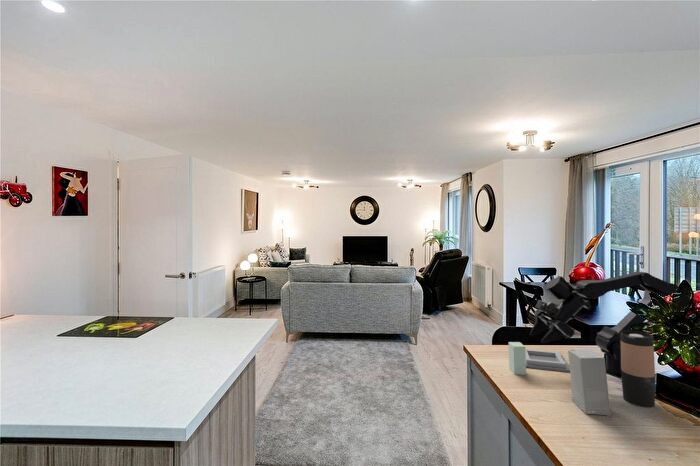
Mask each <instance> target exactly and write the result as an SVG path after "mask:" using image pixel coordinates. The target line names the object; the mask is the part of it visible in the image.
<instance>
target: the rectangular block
mask: <svg viewBox="0 0 700 466" xmlns="http://www.w3.org/2000/svg"><path fill="white" fill-rule="evenodd" d="M525 349H526V346H525V345H524V344H523V343H522V342H520V341H508V365H509V366H508V367H509V370H510V371H511V372H512V373H513V375H527V367H526V355H525Z"/></svg>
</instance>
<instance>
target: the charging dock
mask: <svg viewBox="0 0 700 466" xmlns="http://www.w3.org/2000/svg"><path fill="white" fill-rule="evenodd" d="M525 355H526V369H528V368H529V369H538V370H547V371H555V372H563V373H564V372H565V373H570V366H569V363H568V362H567V360H566V358H565V356H563V354H560V353H559V351H549V350H539V349H537V350H536V349H527V348H525Z"/></svg>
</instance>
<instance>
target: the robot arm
mask: <svg viewBox="0 0 700 466" xmlns="http://www.w3.org/2000/svg"><path fill="white" fill-rule="evenodd" d="M635 286H640V287H641V288H644V289H645V290H644V294H643V298H642V299H641V300H640V301H639V302H638V303H643V304H646V305H648V306H650V307H652V306H653V305H652V302H651V298H650V295H649V293H651V292H654V293H656V294H658V295H660V296H662V297H665V296H668V295H671V294H672V293H674V292H675V290H676V289H677V288H678V287H679V285H677V284H676V283H673V282H668V281H665V280H663V279H660V278H658V277H655V276H654V275H652V274H650V273H649V272H646V271H645V272H644V271H634V272H630V273H627V274H622V275H617V276H613V277H609V278H604V279H587V280H586V279H584V280H583V279H582V280H579V281H577V282H576V283H573V284H569V282H567V281H566V279H565V278H564V277H563V276H560V275H558V276H557V277H555V278H552V279H550V280H548V282H547V283H545V286H544V288H545V290H547V291H548V292H549V293H550V294H551V295H552V296H554V297H555V299H556V300H562V301H561V302H559V303H554V302H552V301H548V302H545V301H543V300H541V299H538V300H537V302H536V304H535V308H537V309H536V310H535V311H534V312H533V313H534V315H533V316H534V319H535V322H534V324H533V326H532V328H531V330H530V332H529V335H530V336H532V337H533V336H535V335H537V334H539V333H541V332H544V331H546V330H547V329H549V330H548V331H547V332H546V334H545V335H544V336H543V338H542V339H541V340H540V343H542V344H543V345H544V344H547V343H551V342H554V341H558V340H561V339H568V338H569V339H572V337H573V336H574V335H576V333H575V329H574V328H572V326H570V325H569V324H568V322H569V321H570V320H575V319H576V317H575V315H576V314H578V312H579V311H580V310H581V309H582V308H585V309H587V310H591V309H592V308H591V301H590V300H595V299H598V298H600V297H602V296H605V295H606V294H607V293H609V292H612V291H616V290H617V291H618V290H621V289H626V288H630V287H635ZM584 298H586V300H585V299H584ZM587 299H589V300H587ZM646 321H647V320H646V319H644V318H642V317H640V316H638V315H636V314H634V313H633V312H632V311H631V310H630V311H628V313H627V314H626V315H625V316H624V317H623V318H622V319H621V320H620V321H619V322H618V323H617V324H616V325H615V326H613V327H609V326H606V325H605V326H603V328H602V329H601V330H600V331H598V332H596V337H595V343H596V346H597V347H598V348H599V349H600V351H601V353H603V356H602V357H603V358H605V367H606V374H608V375H611V376H614V377H617V378H621V379H622V374H621V334H620V333H621V331H633V330H631V325H633V324H637V323H643V324H644V323H645V322H646Z"/></svg>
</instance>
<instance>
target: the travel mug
mask: <svg viewBox="0 0 700 466" xmlns="http://www.w3.org/2000/svg"><path fill="white" fill-rule="evenodd" d="M620 334H621V374H622V377H621V387H622V396H623V400H624V401H626V402H627V403H629V404H632V405H634V406H638V407H643V408H652V407H654V406H655V403H656V401H655V400H656V367H655V364H656V363H655V342H654V335H652V334H650V333H647V332H644V331H643V332H642V331H637V330H636V331H621V333H620Z"/></svg>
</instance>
